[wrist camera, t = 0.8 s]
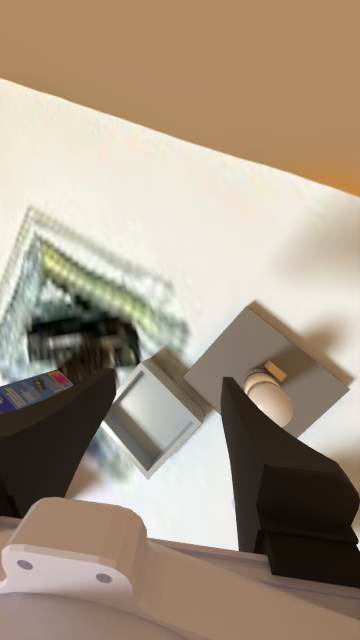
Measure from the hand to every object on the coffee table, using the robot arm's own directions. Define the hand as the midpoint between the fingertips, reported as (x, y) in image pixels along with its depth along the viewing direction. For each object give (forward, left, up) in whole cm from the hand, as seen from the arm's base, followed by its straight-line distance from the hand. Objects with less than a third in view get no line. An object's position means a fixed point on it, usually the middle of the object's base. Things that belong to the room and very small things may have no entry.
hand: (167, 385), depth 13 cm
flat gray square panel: (-8, -2, -18) cm, 20 cm away
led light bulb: (-8, -2, -16) cm, 18 cm away
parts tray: (0, +13, -18) cm, 22 cm away
